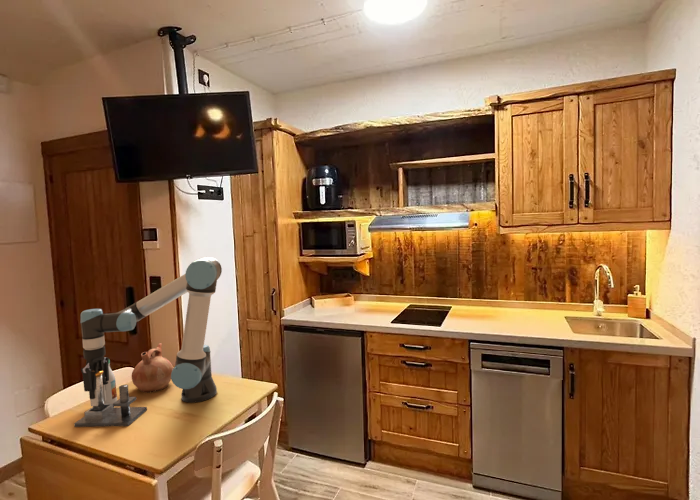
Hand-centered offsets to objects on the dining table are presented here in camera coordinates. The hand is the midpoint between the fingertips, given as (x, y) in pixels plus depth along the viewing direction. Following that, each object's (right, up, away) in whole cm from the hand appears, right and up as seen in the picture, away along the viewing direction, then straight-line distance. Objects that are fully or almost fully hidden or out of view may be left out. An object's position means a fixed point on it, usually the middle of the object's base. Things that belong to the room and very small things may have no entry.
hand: (98, 402), depth 160 cm
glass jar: (0, -2, 0) cm, 2 cm away
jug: (+8, -5, +30) cm, 31 cm away
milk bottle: (-5, -6, +14) cm, 16 cm away
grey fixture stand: (+5, -6, 0) cm, 8 cm away
